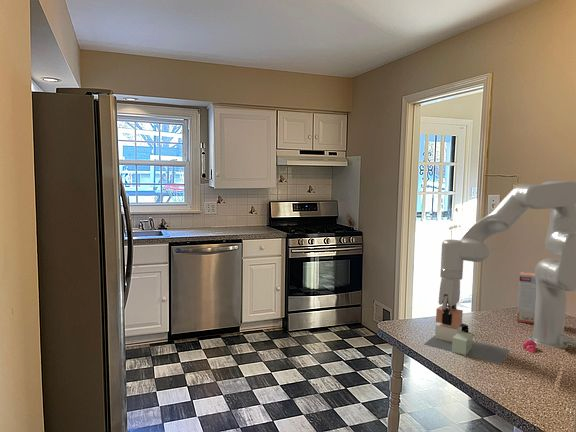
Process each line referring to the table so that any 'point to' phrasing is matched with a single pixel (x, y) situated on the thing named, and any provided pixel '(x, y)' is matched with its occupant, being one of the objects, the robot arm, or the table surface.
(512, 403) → the table surface
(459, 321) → the terracotta brick
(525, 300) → the cracker box
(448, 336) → the cream brick
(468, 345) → the sage brick
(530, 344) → the toy pieces
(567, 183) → the robot arm
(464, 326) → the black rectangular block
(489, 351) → the baseplate
